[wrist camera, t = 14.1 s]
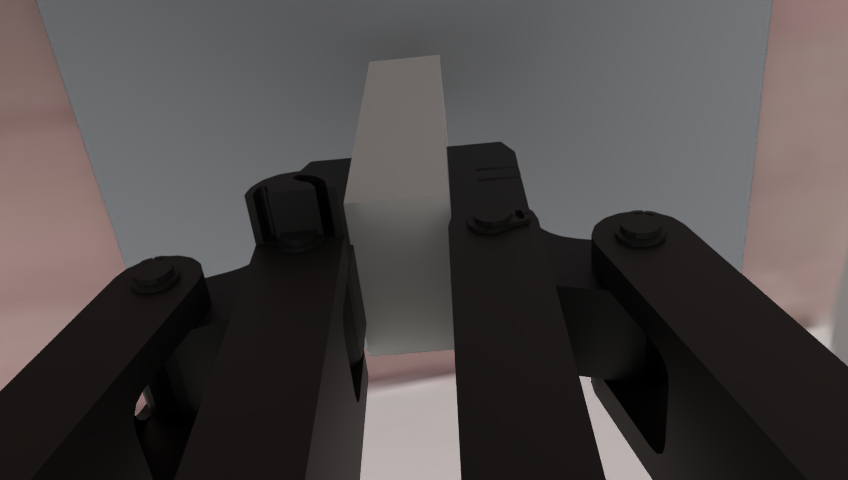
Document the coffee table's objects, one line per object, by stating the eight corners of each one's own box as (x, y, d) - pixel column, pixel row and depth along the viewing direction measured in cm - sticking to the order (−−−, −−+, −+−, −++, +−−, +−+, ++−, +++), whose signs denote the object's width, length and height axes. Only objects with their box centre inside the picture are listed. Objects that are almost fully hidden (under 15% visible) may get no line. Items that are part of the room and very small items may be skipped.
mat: (-65, -320, 17) (-73, -320, 17) (815, -431, 16) (821, -434, 16) (162, 360, 26) (159, 366, 26) (733, 312, 25) (736, 318, 25)
